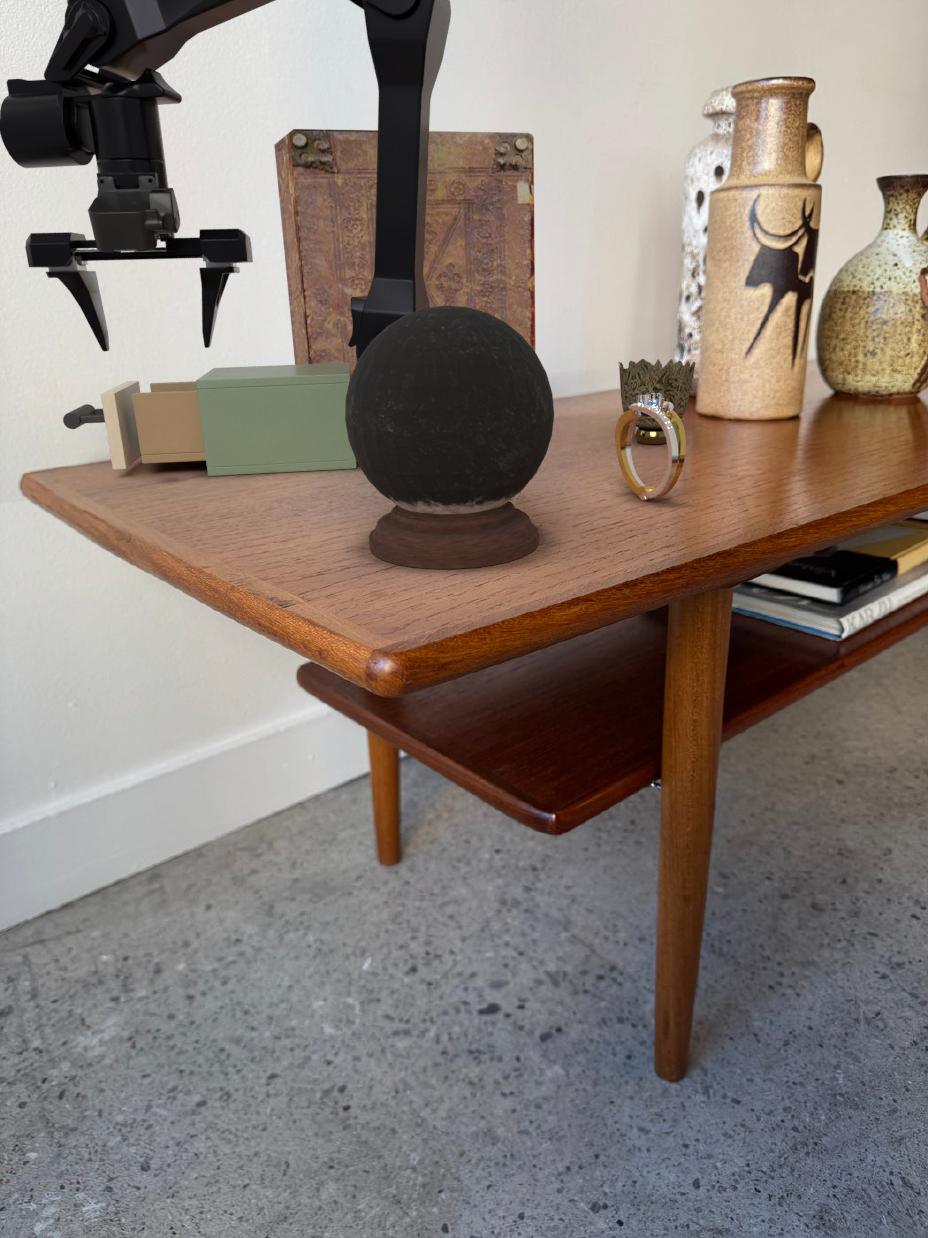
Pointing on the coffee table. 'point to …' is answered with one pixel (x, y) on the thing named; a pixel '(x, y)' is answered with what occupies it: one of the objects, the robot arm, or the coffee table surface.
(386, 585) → the coffee table surface
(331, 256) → the book
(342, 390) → the cabinet
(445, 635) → the coffee table surface
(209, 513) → the coffee table surface
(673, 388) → the cup
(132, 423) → the drawer
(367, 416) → the black ball on stand
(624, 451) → the ring
